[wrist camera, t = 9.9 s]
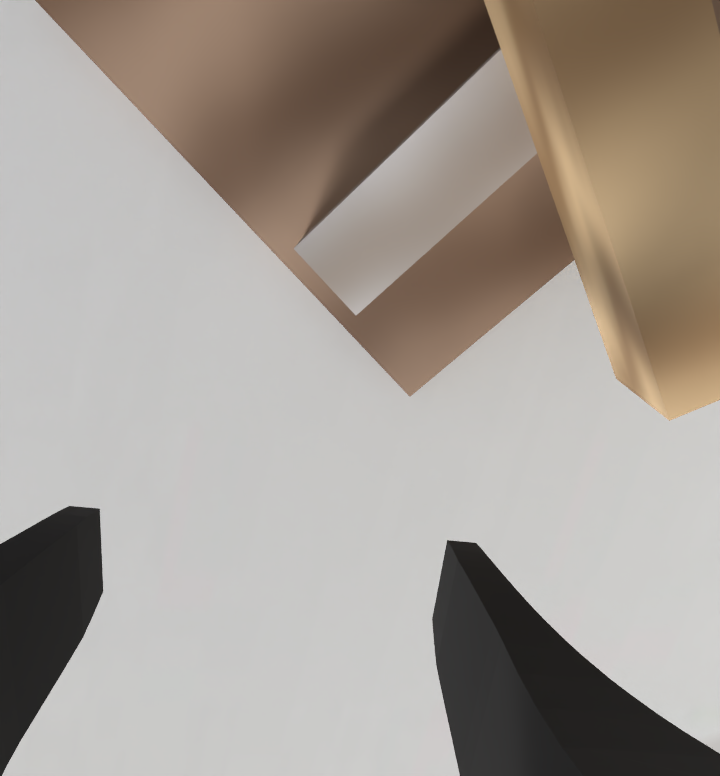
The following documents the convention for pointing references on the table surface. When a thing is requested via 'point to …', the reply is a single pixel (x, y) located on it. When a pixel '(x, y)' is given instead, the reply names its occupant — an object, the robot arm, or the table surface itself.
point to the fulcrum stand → (352, 152)
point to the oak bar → (632, 174)
